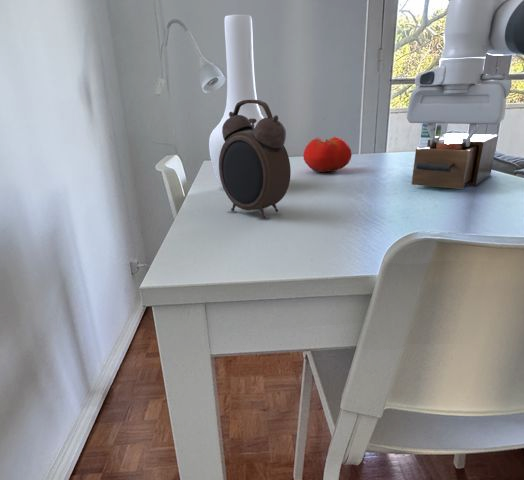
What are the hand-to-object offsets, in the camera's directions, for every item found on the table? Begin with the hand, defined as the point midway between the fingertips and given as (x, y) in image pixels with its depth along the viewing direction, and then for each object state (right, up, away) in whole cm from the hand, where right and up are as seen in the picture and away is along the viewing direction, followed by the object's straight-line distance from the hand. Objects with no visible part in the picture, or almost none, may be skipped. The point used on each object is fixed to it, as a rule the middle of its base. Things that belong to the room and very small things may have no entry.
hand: (449, 145), depth 106 cm
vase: (-46, -6, +11) cm, 48 cm away
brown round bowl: (0, -1, +1) cm, 2 cm away
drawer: (0, -7, +3) cm, 8 cm away
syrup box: (+7, +8, +32) cm, 34 cm away
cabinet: (+7, -3, +13) cm, 15 cm away
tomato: (-25, +4, +27) cm, 37 cm away
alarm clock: (-44, -19, -13) cm, 50 cm away
